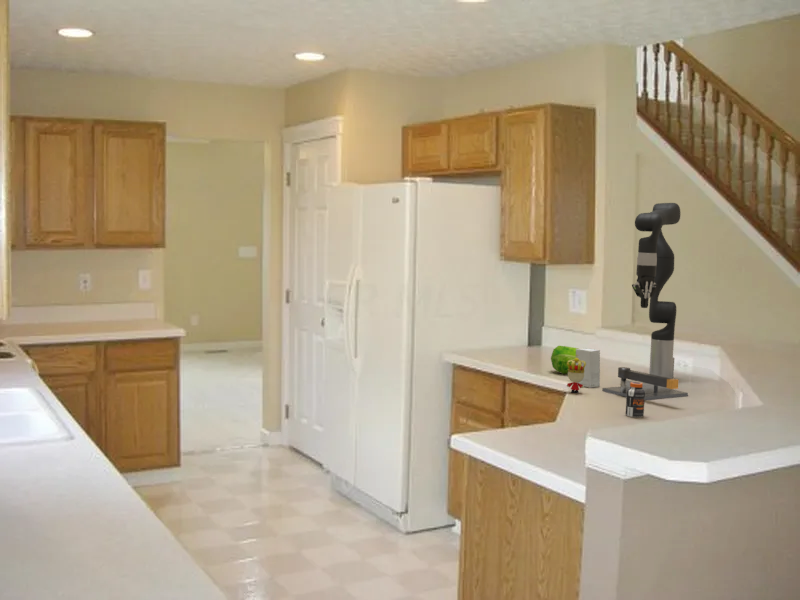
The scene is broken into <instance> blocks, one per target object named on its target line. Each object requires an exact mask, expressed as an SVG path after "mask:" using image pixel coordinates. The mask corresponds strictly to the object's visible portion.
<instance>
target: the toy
mask: <svg viewBox="0 0 800 600" xmlns="http://www.w3.org/2000/svg"><path fill="white" fill-rule="evenodd" d="M575 356H576V355H575ZM577 356H579V355H577ZM570 361H572V363H571V366H570V364H569V362H570ZM582 362H583V363H584V366H583V367H582V366H581V365H582ZM575 363H578V365H575ZM567 365H568V373H567V377H568V380H569V381H570V382H567V383H566V387H567V388H570V390H571V391H570V392H571V394H579V393H580V392H579V391H580V389H584V388H585V387H584V386H583V385H582V384H579V383H578V382H580V381H582V380H583V378H584V371H585V370H584V368H585V366H586V362H585V361H581V360H579V359H578V358H575V359H574V360H568V362H567ZM577 384H578V385H577Z"/></svg>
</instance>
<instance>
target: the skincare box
mask: <svg viewBox="0 0 800 600" xmlns="http://www.w3.org/2000/svg"><path fill="white" fill-rule="evenodd" d="M577 355H579V356H577ZM576 358H578V359H579V360H581V361H585V362H586V366H585V368H584V370H585V371H584V378H583V380H582V381H580V382H578V383H579V384H582V385H583V386H584V387H583V388H585V387H586V388H599V387H600V386H601V377H600V376H601V372H600V371H601V366H600V365H601V350H600V349H595V348H594V349H593V348H586V347H585V348H584V347H583V348H579V349H576ZM576 365H578V363H576ZM581 366H582V367H583V366H584V363H583V362H582V365H581ZM577 385H578V384H577Z"/></svg>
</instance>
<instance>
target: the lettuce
mask: <svg viewBox="0 0 800 600" xmlns="http://www.w3.org/2000/svg"><path fill="white" fill-rule="evenodd" d="M576 349H580V348H577V347H574V346H566V345H557V346H556V347H554V348H553V350H552V353H551V356H550V361H551V365H552V368H553V369H554V370H555V371H556V372H557V373H560V374H563V375H565V374H567V375H568V365H567V362H568V360H574V359H575V358H576V356H575V355H576ZM571 363H572V361H570V362H569V364H570V366H571ZM575 365H576V363H575Z"/></svg>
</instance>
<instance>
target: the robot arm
mask: <svg viewBox="0 0 800 600" xmlns="http://www.w3.org/2000/svg"><path fill="white" fill-rule="evenodd" d="M680 219H681V208H680V205H679V204H678V203H676V202H661V203H654V205H653V207H652V211H649V212H642V213H639V214H637V216H636V217H635V219H634V226H635V228H636V230H638V231H639V232H649V233H651V234H650V235H649V236H646V237H641V238H639V240H638V246H637V247H638V249H637V251H638V252H637V256H636V258H637V259H636V276H637V279H636V282H635V283H633V284H631V286H632V289H633V291H634V293H635V295H636V297H639V298H640V308H643V309H648V318H649V322H651V323H653V324H666V325H665V326H663V327H662V328H660V329H657V330H655V331H652V333H651V339H650V355H649V357H650V358H649V370H648V372H649V373H648V374H652V375H657V376H662V377H667V378H671V379H674V375H675V374H674V373H675V372H674V371H675V357H674V346H675V345H674V344H675V343H674V342H675V341H674V340H675V329H676V328H675V327H676V318H677V305H676V302H674V301H663V300H662V301H661V300H660V301H659V296H660V294H661V291H662V290H663V288H664V287H665V285H666V284H667V282H668V281H669V279H671V277H672V275H673V273H674V271H675V253H674V251H673V249H672V248H671V247H670V245H669V243H668V241H667V240H666V238H665V236H664V233H663V230H662V227H663V226H669V225H676V224H678V223H679V222H680ZM648 307H649V308H648Z"/></svg>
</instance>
